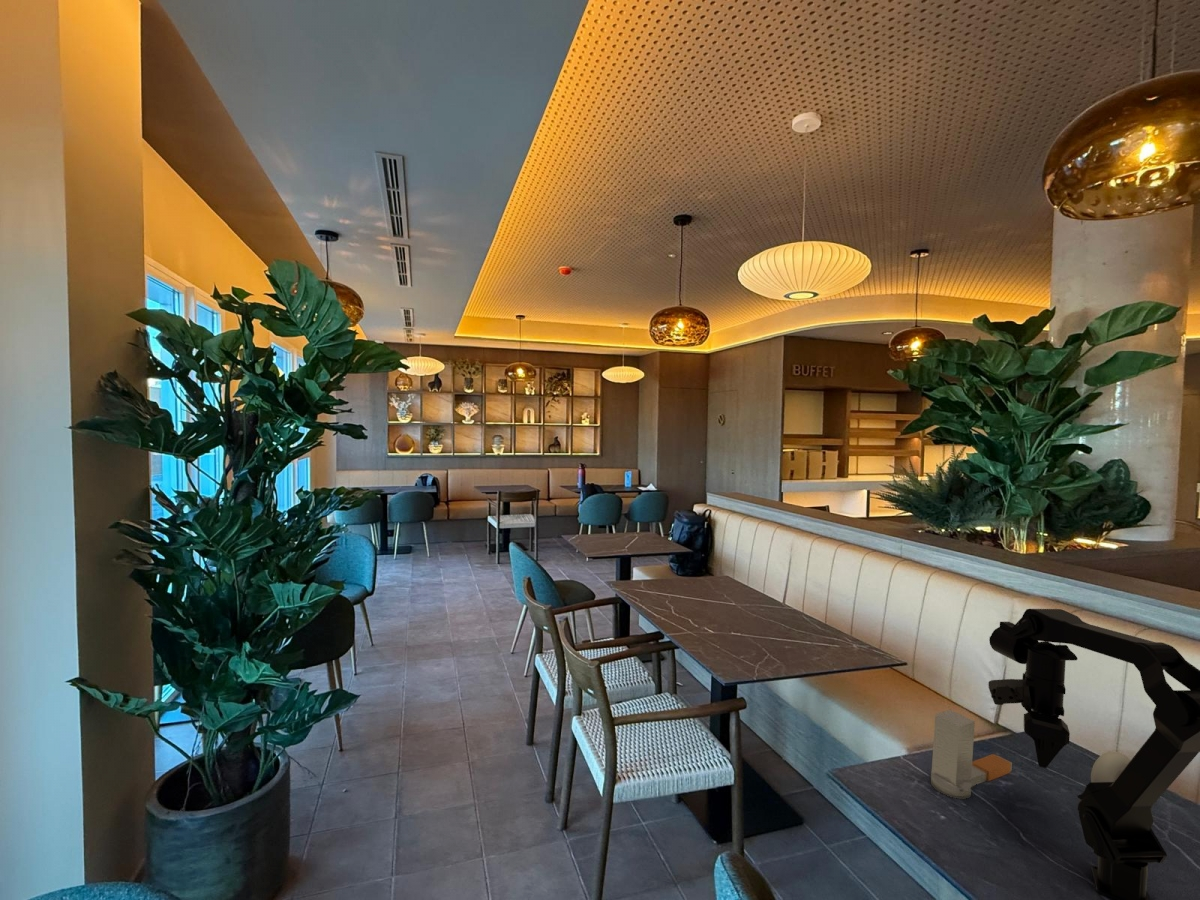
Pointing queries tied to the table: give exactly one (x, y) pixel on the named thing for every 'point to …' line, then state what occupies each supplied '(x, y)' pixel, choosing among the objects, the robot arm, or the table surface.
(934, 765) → the tall beige block
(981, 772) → the ratchet
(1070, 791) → the table surface
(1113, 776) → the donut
